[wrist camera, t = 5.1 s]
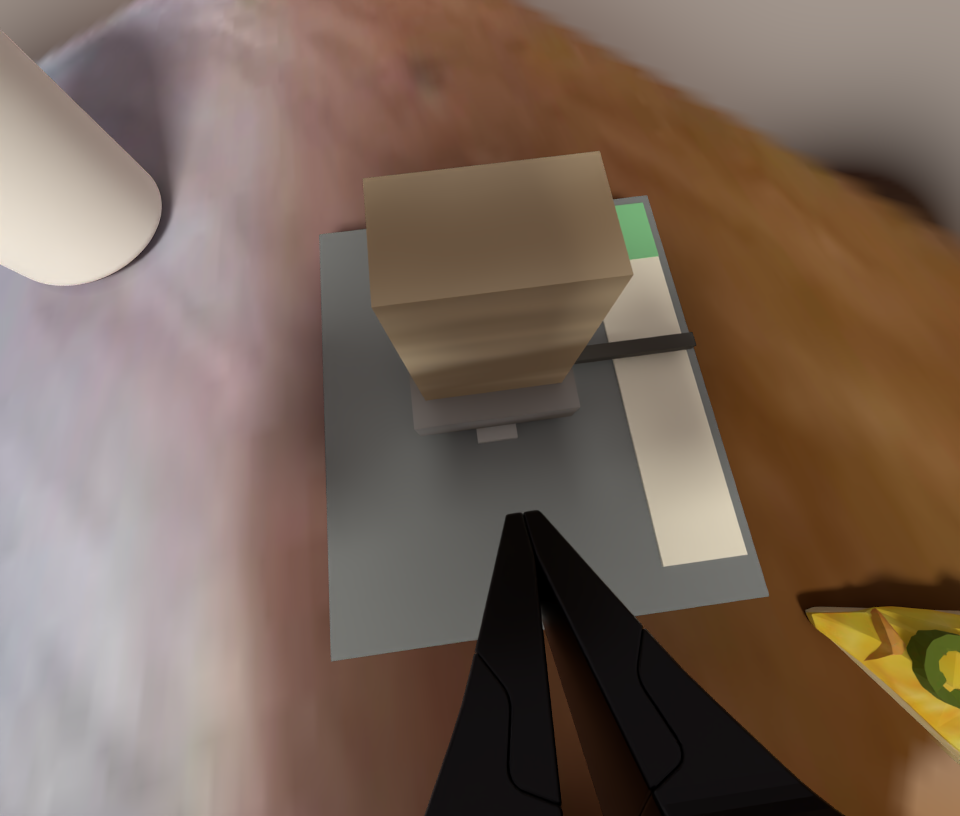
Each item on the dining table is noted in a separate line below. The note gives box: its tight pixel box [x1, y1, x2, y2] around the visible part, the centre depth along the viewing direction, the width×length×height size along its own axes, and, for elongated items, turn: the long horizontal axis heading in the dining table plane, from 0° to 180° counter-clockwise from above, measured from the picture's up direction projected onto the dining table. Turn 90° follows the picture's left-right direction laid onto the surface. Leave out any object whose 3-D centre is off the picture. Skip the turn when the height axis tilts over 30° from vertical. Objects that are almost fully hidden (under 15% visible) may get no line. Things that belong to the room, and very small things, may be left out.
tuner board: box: [319, 195, 769, 661], centre depth 16 cm, size 18×16×2 cm
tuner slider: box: [363, 151, 696, 436], centre depth 11 cm, size 5×12×8 cm, turn 98°
